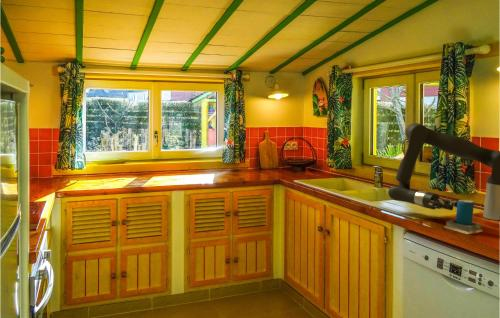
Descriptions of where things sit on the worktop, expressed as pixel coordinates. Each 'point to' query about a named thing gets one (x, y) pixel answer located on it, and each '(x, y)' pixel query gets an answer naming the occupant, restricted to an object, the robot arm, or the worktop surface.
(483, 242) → the worktop surface
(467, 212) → the beverage can
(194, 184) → the worktop surface
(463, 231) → the grey square tray
